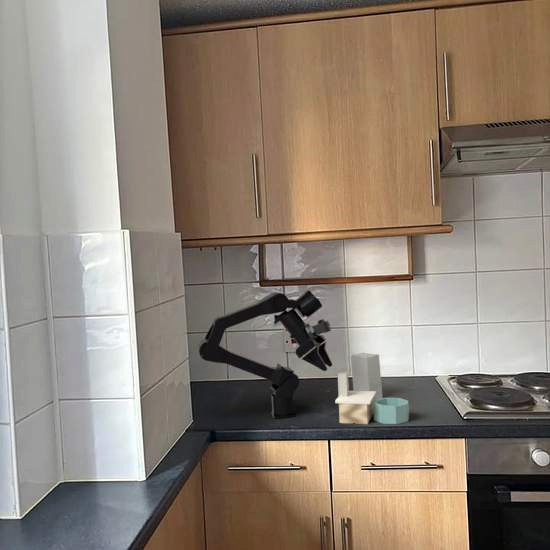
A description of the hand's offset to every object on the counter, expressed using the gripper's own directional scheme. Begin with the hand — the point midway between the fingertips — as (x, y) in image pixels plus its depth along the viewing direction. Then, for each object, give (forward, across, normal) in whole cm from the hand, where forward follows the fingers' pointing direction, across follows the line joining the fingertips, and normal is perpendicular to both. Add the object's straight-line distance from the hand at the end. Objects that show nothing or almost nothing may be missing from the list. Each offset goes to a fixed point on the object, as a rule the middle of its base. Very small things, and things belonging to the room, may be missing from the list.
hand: (328, 368), depth 177 cm
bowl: (+22, -1, -5) cm, 23 cm away
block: (+16, 0, +2) cm, 16 cm away
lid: (+12, -1, -1) cm, 12 cm away
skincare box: (+16, +21, +1) cm, 27 cm away
